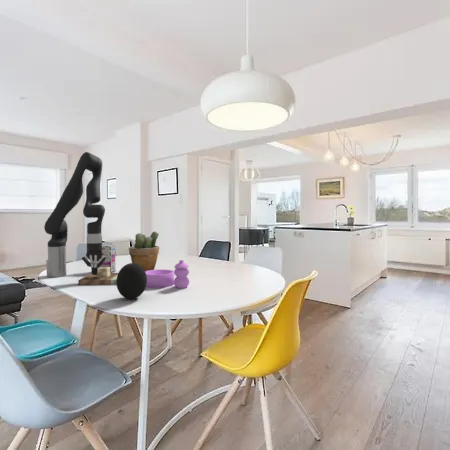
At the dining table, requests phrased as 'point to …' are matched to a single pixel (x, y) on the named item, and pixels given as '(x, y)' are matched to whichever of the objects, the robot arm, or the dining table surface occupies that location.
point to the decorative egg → (131, 281)
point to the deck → (98, 279)
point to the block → (103, 271)
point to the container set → (168, 277)
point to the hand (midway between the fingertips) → (94, 274)
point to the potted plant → (145, 251)
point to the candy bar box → (108, 257)
